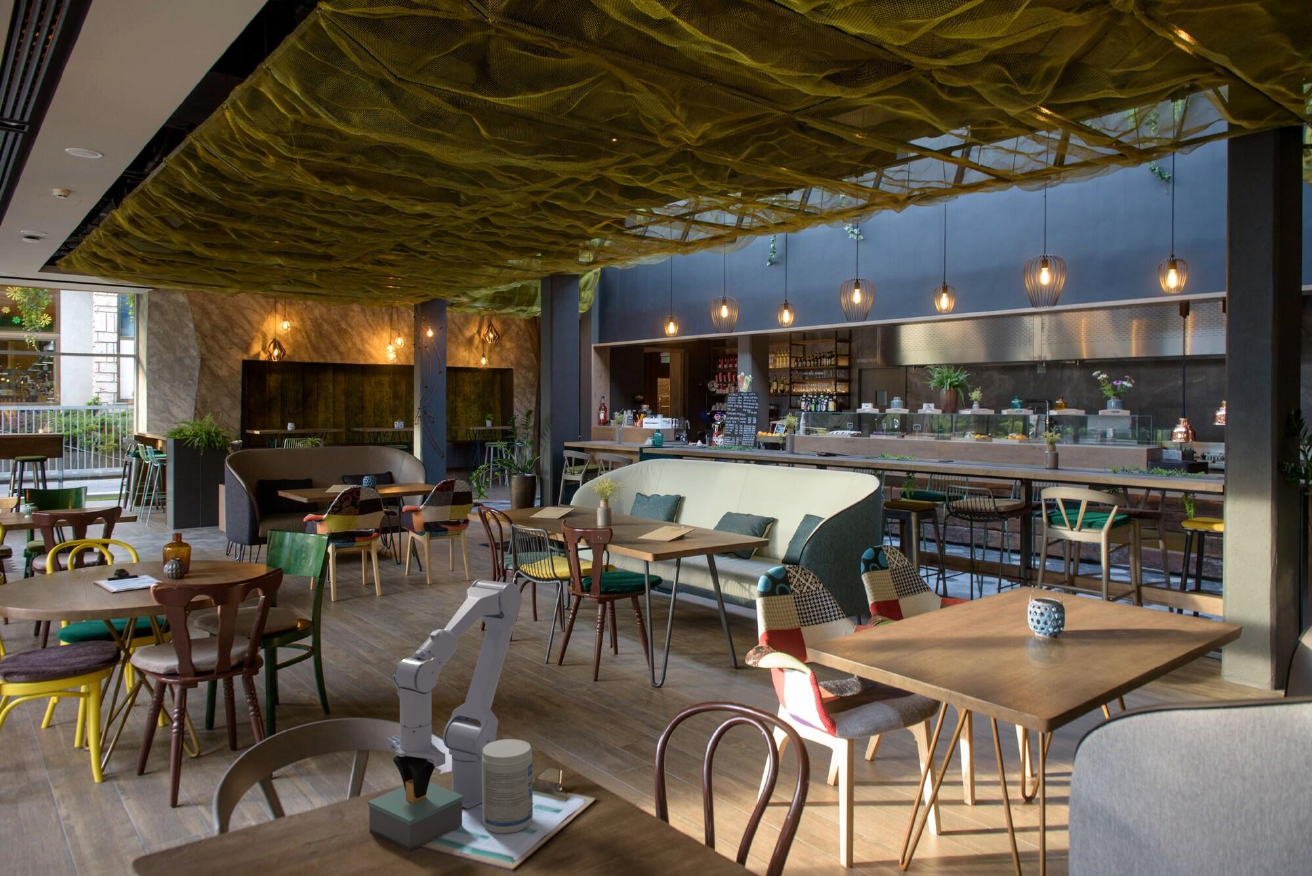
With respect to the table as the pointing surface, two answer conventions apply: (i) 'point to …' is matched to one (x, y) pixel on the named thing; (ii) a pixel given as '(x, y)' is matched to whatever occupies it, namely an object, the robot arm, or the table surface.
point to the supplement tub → (507, 786)
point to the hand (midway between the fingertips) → (416, 793)
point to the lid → (415, 802)
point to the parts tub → (415, 827)
